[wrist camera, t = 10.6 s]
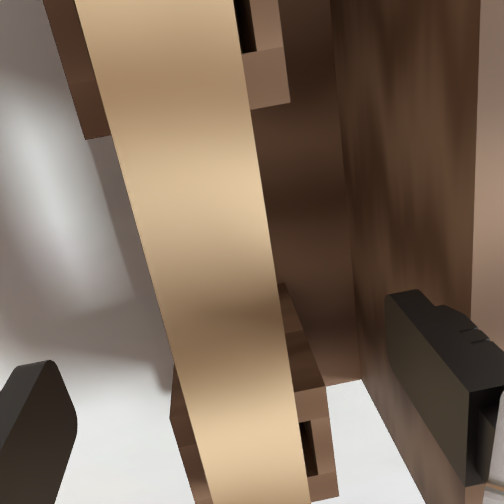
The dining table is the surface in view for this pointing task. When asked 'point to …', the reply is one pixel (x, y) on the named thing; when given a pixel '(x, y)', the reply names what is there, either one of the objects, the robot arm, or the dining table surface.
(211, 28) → the oak rail
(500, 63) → the wooden pen holder stand
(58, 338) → the dining table surface
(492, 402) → the robot arm
